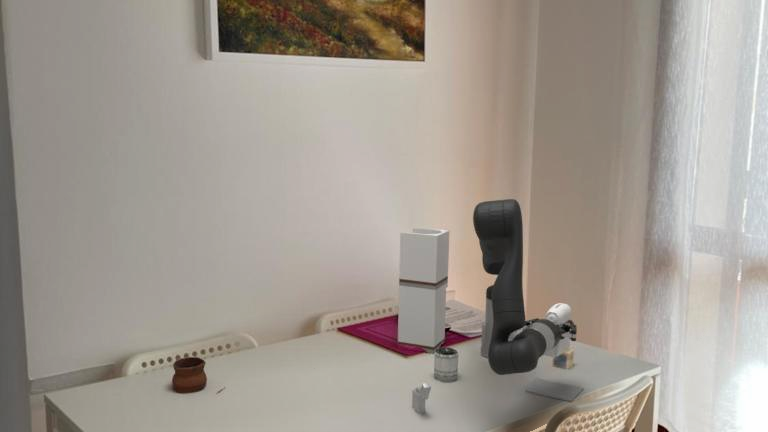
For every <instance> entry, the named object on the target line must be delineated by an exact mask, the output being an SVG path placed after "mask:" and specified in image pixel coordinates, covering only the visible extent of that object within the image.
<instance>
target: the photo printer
mask: <svg viewBox="0 0 768 432" xmlns="http://www.w3.org/2000/svg"><path fill="white" fill-rule="evenodd" d="M544 319H547V320H549V321H551V322H553V323H554V324H557V323H558V324H559V323H566V322H567V321H569V320H572V309H571V306H570V305H569V304H568V303H562V302H559V303H555V304H553V305H551V307H550V308H549V309H548V311H547V312H546V314H545V318H544ZM570 342H571V339H569V337H565V338H564V339H561V340H560V341H559V343H558V344H557V345H556V346H555V347H554V348H553V349H552V350H550V351H549V352H548V353H547V354H545V355H544V356H547V357H550V358H553V357H557V356H559V355H561V354H562V353H563V352H565V351H566V350H567V349H570Z"/></svg>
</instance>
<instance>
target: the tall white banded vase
mask: <svg viewBox="0 0 768 432" xmlns="http://www.w3.org/2000/svg"><path fill="white" fill-rule="evenodd" d="M399 233H400V234H399V235H400V236H399V237H400V238H399V273H398V274H399V275H398V276H399V277H398V278H399V279H398V316H397V317H398V318H397V319H398V320H397V323H398V325H397V345H398V344H402V345H408V346H415V347H420V348H422V349H424V350H426V351H427V352H428V353H427V354H431V353H432V355H433V354H434V355H435V351H436V350H437V349H439V347H440V346H441V344H443V343H444V341H445V340H447V337H446V336H445V335H446V333H445V331H446V308H447V307H446V305H447V303H446V302H447V288H448V285H449V284H448V283H449V279H448V278H449V260H450V259H449V256H450V255H449V252H450V229H449V230H447V229H437V228H436V229H434V228H426V227H416V226H415V227H412V232H406V231H405V232H404V231H401V232H399Z"/></svg>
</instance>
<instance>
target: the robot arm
mask: <svg viewBox="0 0 768 432" xmlns="http://www.w3.org/2000/svg"><path fill="white" fill-rule="evenodd" d="M472 221H473V223H472V224H473V227H474V231H475V234H476V236H477V238H478V242H479V247H480V250H481V253H482V256H481V257H482V259H481V260H482V267H483V270H484V271H485V273H487V274H488V275H492V276H497V277H496V278H495V281H494V282H493V284H491V285H490V286H488V287H487V288H486V291H485V316H484V318H485V319H484V322H483V323H482V326H481V343H480V344H481V346H480V347H481V348H480V349H481V350H480V356H483V357H486V358H487V359H488V364H489V367H490V368H491V370H492V371H493V372H494V374H497V375H499V376H503V375H512V374H513V375H514V374H522V373H529V372H533V370H535V369H536V368H537V366H538V363H539V359H540V358H541V357H543V356H546V355H545V354H547V353H548V352H549V351H550V350H552V349H553V348H554V347H555V346H556V345H557V344H558V343H559V341H560V340H561V339H564V338H565V337H569V339H570V342H577V329H578V328H577V324H575V322H574V320H572V319H571V320H569V321H567V322H566V323H559V324H558V323H557V324H554V323H553V322H551V321H549V320H547V319H545V318H532V319H528V320H526V310H525V303H524V301H525V300H524V289H523V287H524V286H523V272H524V271H523V269H524V267H523V266H524V231H523V227H524V226H523V214H522V208H521V206H520V204H519V202H518V201H517V200H516V199H513V198H510V199H508V198H507V199H498V200H497V199H496V200H487V201H482V202H481V201H480V202H479V203H478V204H476V206H475V208H474V210H473V216H472ZM521 329H522V331H519V330H521ZM517 331H519V333H518V332H517Z"/></svg>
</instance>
